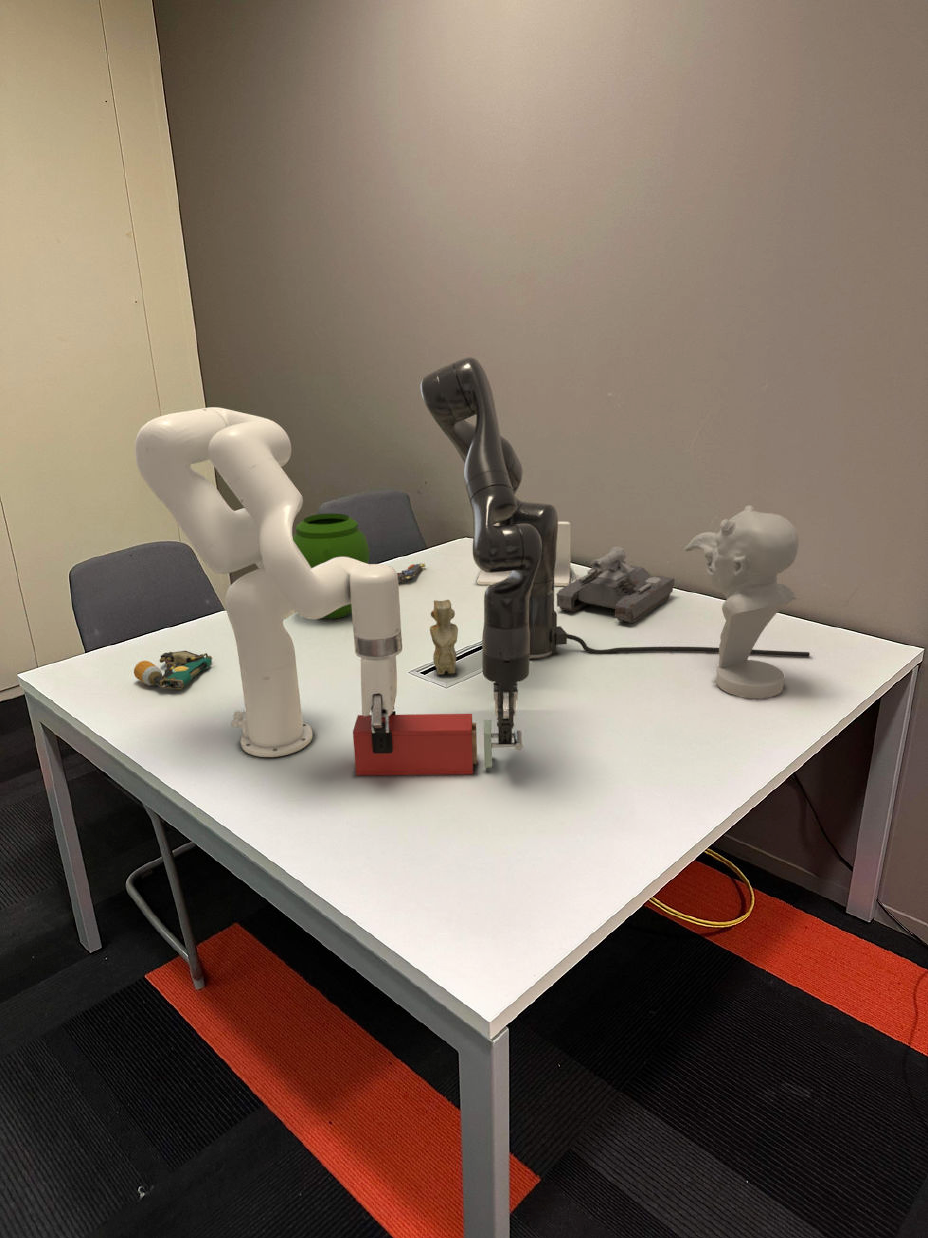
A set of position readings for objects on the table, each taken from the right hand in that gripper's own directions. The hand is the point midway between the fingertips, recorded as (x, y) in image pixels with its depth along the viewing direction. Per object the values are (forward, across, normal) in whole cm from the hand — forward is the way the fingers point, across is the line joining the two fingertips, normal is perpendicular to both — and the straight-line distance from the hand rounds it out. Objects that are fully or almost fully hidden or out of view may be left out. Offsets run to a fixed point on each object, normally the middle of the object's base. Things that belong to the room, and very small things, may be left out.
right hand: (504, 744), depth 142 cm
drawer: (+3, 0, -9) cm, 9 cm away
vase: (+4, -74, -41) cm, 85 cm away
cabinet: (+4, 0, -15) cm, 15 cm away
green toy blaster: (+5, -38, -69) cm, 79 cm away
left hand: (0, 0, -20) cm, 20 cm away
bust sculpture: (+3, -32, +46) cm, 56 cm away
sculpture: (+4, -39, -12) cm, 41 cm away
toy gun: (+4, -103, -27) cm, 107 cm away
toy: (+3, -78, +29) cm, 83 cm away
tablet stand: (+3, -103, +7) cm, 103 cm away
